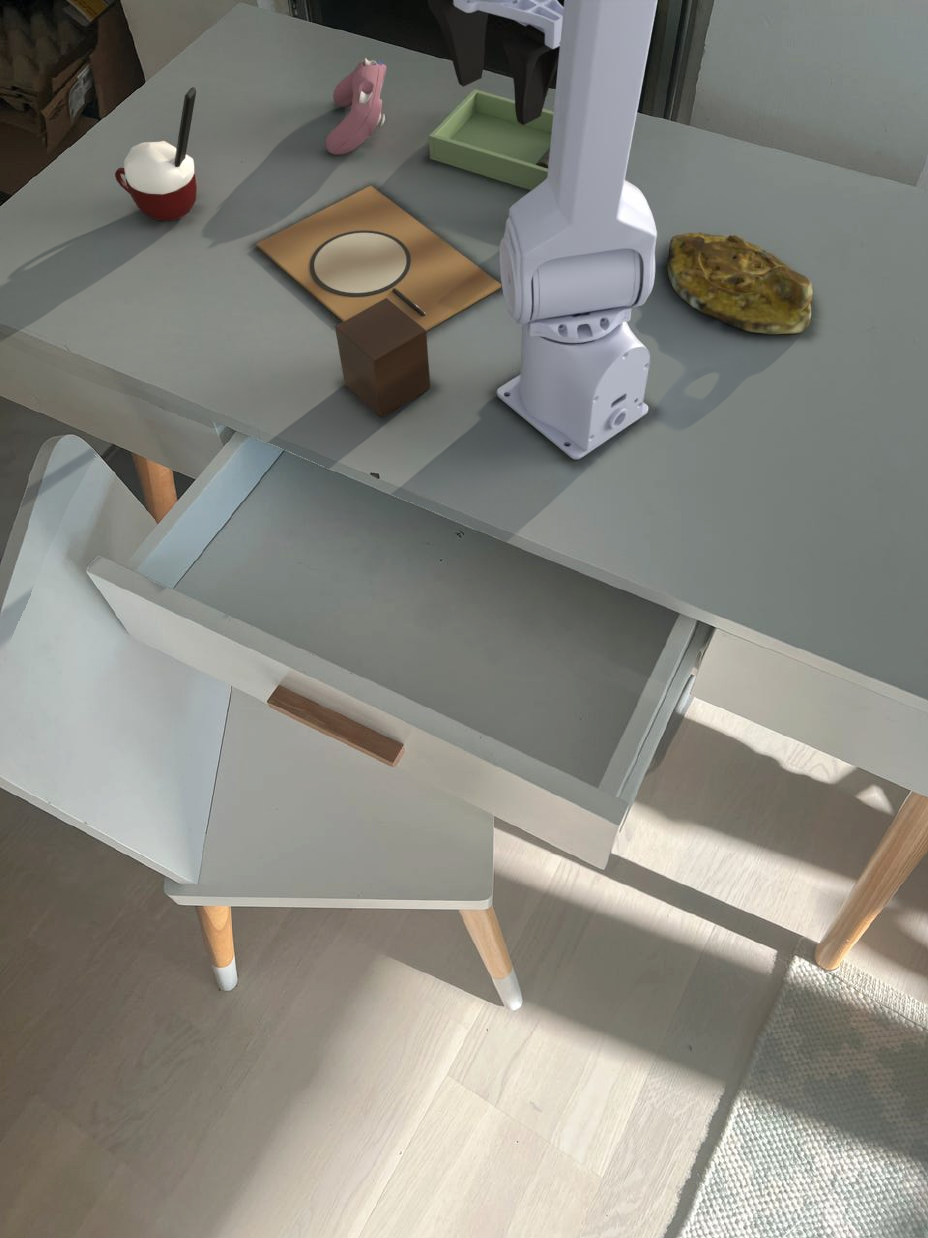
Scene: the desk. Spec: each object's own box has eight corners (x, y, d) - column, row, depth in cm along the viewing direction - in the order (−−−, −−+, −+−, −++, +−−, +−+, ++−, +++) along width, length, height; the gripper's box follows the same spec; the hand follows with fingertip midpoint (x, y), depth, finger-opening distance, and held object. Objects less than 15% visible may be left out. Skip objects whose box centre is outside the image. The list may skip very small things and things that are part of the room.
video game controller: (365, 172, 99) (392, 110, 94) (321, 153, 97) (346, 89, 92) (372, 115, 104) (397, 54, 99) (330, 96, 103) (354, 33, 97)
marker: (554, 183, 94) (582, 149, 96) (550, 162, 92) (579, 128, 95) (535, 182, 95) (563, 148, 97) (531, 161, 93) (559, 127, 96)
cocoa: (115, 210, 94) (69, 84, 84) (163, 177, 97) (125, 51, 87) (186, 247, 91) (147, 121, 81) (234, 212, 94) (202, 85, 84)
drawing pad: (501, 287, 87) (501, 281, 87) (382, 356, 83) (382, 351, 82) (370, 187, 95) (370, 182, 95) (256, 246, 91) (255, 241, 90)
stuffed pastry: (633, 283, 88) (773, 365, 82) (635, 240, 84) (782, 322, 78) (701, 224, 91) (842, 300, 85) (706, 180, 87) (855, 256, 81)
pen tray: (609, 151, 97) (611, 127, 95) (568, 202, 93) (570, 178, 91) (474, 111, 102) (474, 88, 100) (429, 158, 97) (428, 135, 95)
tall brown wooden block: (430, 388, 81) (426, 329, 76) (381, 418, 79) (373, 360, 74) (393, 355, 83) (386, 296, 78) (344, 384, 81) (334, 326, 76)
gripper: (395, -99, 75) (408, 81, 86) (524, -29, 68) (520, 156, 80) (468, -128, 77) (471, 51, 88) (599, -63, 71) (585, 121, 82)
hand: (499, 99), depth 84 cm, fingers open, 7 cm apart
